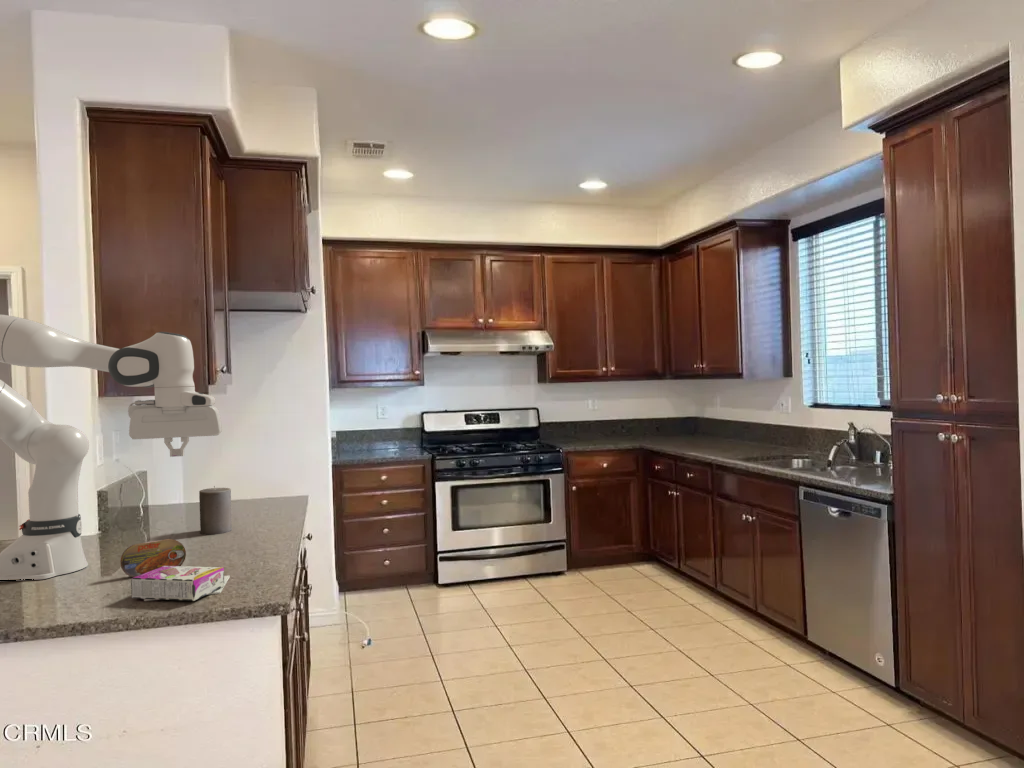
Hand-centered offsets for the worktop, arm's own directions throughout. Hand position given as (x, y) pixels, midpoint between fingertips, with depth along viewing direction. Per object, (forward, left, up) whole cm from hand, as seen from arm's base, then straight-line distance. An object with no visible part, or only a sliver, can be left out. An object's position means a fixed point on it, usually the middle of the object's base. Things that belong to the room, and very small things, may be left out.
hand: (177, 456), depth 171 cm
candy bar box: (-6, -5, -28) cm, 29 cm away
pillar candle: (-3, +62, -31) cm, 70 cm away
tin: (-10, +13, -31) cm, 35 cm away
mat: (+2, -5, -31) cm, 31 cm away
